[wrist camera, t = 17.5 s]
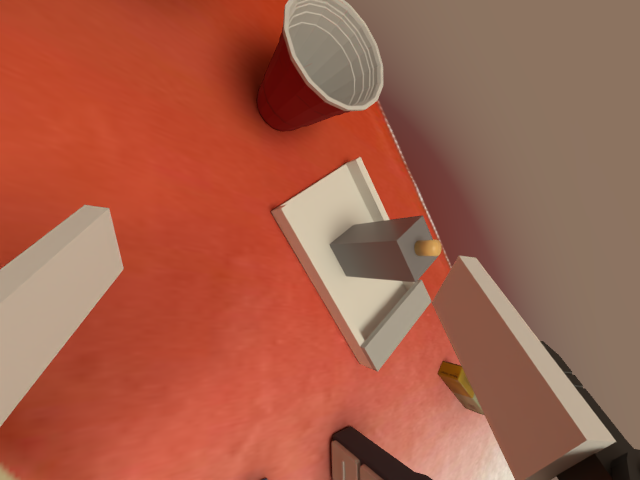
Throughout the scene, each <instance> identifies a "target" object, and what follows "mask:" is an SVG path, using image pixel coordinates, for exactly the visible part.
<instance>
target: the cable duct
mask: <svg viewBox="0 0 640 480" xmlns="http://www.w3.org/2000/svg"><path fill="white" fill-rule="evenodd" d="M271 213H272V215H273V217H274V218H275V220H276V222H277V223H278V225H279V227H280V229H281V230H282V232H283V234H284V235H285V237H286V239H287V240H288V242H289V244H290V246H291V247H292V249H293V251H294V252H295V254H296V256H297V258H298V259H299V261H300V263H301V264H302V266H303V268H304V270H305V271H306V273H307V275H308V276H309V278H310V280H311V281H312V283H313V285H314V287H315V288H316V290H317V292H318V293H319V295H320V297H321V299H322V300H323V302H324V304H325V305H326V307H327V309H328V310H329V312H330V314H331V316H332V317H333V319H334V321H335V322H336V324H337V326H338V328H339V329H340V331H341V333H342V334H343V336H344V338H345V339H346V341H347V343H348V345H349V346H350V348H351V350H352V351H353V353H354V355H355V357H356V358H357V360H358V362H359V363H360V364H362V365H364V366H366V367H369V368H371V369H373V370H375V371H379V369H380V368H381V367H382V365H383V364H384V363H385V361H386V360H387V359H388V358H389V356H390V355H391V354H392V352H393V351H394V350H395V348H396V347H397V346H398V344H399V343H400V342H401V341H402V339H403V338H404V337H405V335H406V334H407V333H408V331H409V330H410V329H411V327H412V326H413V325H414V323H415V322H416V321H417V320H418V318H419V317H420V316H421V314H422V313H423V312H424V310H425V309H426V308H427V306H428V305H429V304H430V303H431V299H430V297H429V295H428V293H427V290H426V288H425V286H424V284H423V282H422V280H417V281H416V282H406V281H394V280H383V279H371V278H360V277H348V276H346V275H345V273H344V271H343V269H342V268H341V266H340V264H339V262H338V260H337V258H336V256H335V255H334V253H333V251H332V249H331V247H330V245H329V244H330V243H332V242H333V241H334V240H335V239H337V238H338V237H339V236H340V235H341V234H343V233H344V232H345V231H346V230H348V229H349V228H350V227H351V226H353V225H355V224H363V223H370V222H378V221H385V220H389V218H388V215H387V213H386V211H385V209H384V207H383V205H382V202H381V200H380V198H379V196H378V194H377V192H376V190H375V187H374V185H373V183H372V181H371V179H370V177H369V174H368V172H367V170H366V168H365V166H364V164H363V161H362V159H361V157H359V158H357V159H354V160H352V161H349V162H347V163H345V164H344V165H342V166H341V167H339V168H338V169H336V170H335V171H333V172H331V173H330V174H328V175H327V176H325V177H324V178H322V179H320V180H319V181H317V182H316V183H314V184H313V185H311V186H310V187H308V188H306V189H305V190H303V191H302V192H300V193H299V194H297V195H295V196H294V197H292V198H291V199H289V200H288V201H286V202H284V203H283V204H281V205H280V206H278V207H277V208H275V209H274V210H272V211H271Z"/></svg>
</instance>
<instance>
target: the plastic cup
mask: <svg viewBox="0 0 640 480" xmlns="http://www.w3.org/2000/svg"><path fill="white" fill-rule="evenodd" d="M382 87H383V64H382V61H381V57H380V54H379V50H378V47H377V44H376V42H375V40H374V38H373V36H372V34H371V33H370V31H369V29H368V27H367V25H366V23H365V22H364V21H363V20H362V19H361V17H360V16H359V15H358V14H357V13H356V11H355V10H354V9H353V8H352V7H351V5H350V4H348V3H347V2H346V1H344V0H289V1H288V2H287V4H286V5H285V10H284V24H283V29H282V33H281V36H280V40H279V43H278V45H277V48H276V50H275V52H274V55H273V57H272V59H271V61H270V64H269V66H268V68H267V71H266V73H265V75H264V80H263V82H262V84H261V86H260V88H259V90H258V97H257V105H258V109H259V113H260V114H261V116H262V117H263V119H264V120H265V122H266V123H267V124H269V125H270V126H271V127H272V128H274V129H277V130H280V131H291V130H295V129H298V128H300V127H304V126H309V125H311V124H314V123H317V122H319V121H322V120H325V119H327V118H330V117H333V116H335V115H341V114H343V113H345V112H350V111H362V110H365V109H367V108H368V107H369V106H371V105H372V104H373V103H375V102H376V101H377V100H378V97H379V95H380V92H381V90H382Z"/></svg>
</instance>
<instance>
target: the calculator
mask: <svg viewBox="0 0 640 480" xmlns="http://www.w3.org/2000/svg"><path fill="white" fill-rule="evenodd" d="M331 448H332V478H333V480H432V479H431V478H429V477H428V476H427V475H424V474H420V473H416V472H414V471H412V470H411V469H409V468H408V467H407V466H405V465H404V464H403V463H401V462H400V461H398V460H397V459H396V458H394V457H393V456H391V455H390V454H389V453H387V452H386V451H385V450H383V449H382V448H380V447H379V446H378V445H376V444H375V443H373V442H372V441H371V440H369V439H368V438H367V437H365V436H364V435H362V434H361V433H360V432H358V431H357V430H355V429H354V428H353V427H351V426H350V427H348V428H346V429H344V430H341V431H339V432H337V433H335V434H333V441H332V443H331Z"/></svg>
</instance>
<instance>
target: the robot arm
mask: <svg viewBox="0 0 640 480" xmlns="http://www.w3.org/2000/svg"><path fill="white" fill-rule="evenodd" d="M123 269H124V268H123V264H122V260H121V256H120V251H119V247H118V243H117V239H116V235H115V231H114V227H113V222H112V218H111V214H110V210H109V208H104V207H96V206H89V205H84V206H83V207H81V208H80V209H79V210H77V211H76V212H75V213H74V214H72V215H71V216H70V217H68V218H67V219H66V220H64V221H63V222H62V223H60V224H59V225H58V226H57V227H55V228H54V229H53V230H51V231H50V232H49V233H47V234H46V235H45V236H43V237H42V238H41V239H40V240H38V241H37V242H36V243H34V244H33V245H32V246H30V247H29V248H28V249H26V250H25V251H24V252H23V253H21V254H20V255H19V256H17V257H16V258H15V259H13V260H12V261H11V262H9V263H8V264H7V265H6V266H4V267H3V268H2V269H0V426H1V425H2V424H3V423H4V421H5V420H6V419H7V417H8V416H9V415H10V414H11V412H12V411H13V410H14V409H15V407H16V406H17V405H18V403H19V402H20V401H21V400H22V398H23V397H24V396H25V394H26V393H27V392H28V391H29V389H30V388H31V387H32V386H33V384H34V383H35V382H36V380H37V379H38V378H39V377H40V375H41V374H42V373H43V371H44V370H45V369H46V368H47V366H48V365H49V364H50V363H51V361H52V360H53V359H54V357H55V356H56V355H57V354H58V352H59V351H60V350H61V348H62V347H63V346H64V345H65V343H66V342H67V341H68V339H69V338H70V337H71V336H72V334H73V333H74V332H75V331H76V329H77V328H78V327H79V325H80V324H81V323H82V322H83V320H84V319H85V318H86V316H87V315H88V314H89V313H90V311H91V310H92V309H93V308H94V306H95V305H96V304H97V302H98V301H99V300H100V299H101V297H102V296H103V295H104V293H105V292H106V291H107V290H108V288H109V287H110V286H111V285H112V283H113V282H114V281H115V279H116V278H117V277H118V276H119V274H120V273H121V272H122V270H123ZM432 304H433V306H434V308H435V311H436V313H437V315H438V317H439V319H440V321H441V323H442V325H443V328H444V330H445V332H446V334H447V336H448V338H449V340H450V342H451V345H452V347H453V349H454V351H455V353H456V355H457V357H458V359H459V362H460V364H461V366H462V368H463V370H464V372H465V374H466V376H467V378H468V381H469V383H470V385H471V387H472V389H473V391H474V393H475V395H476V398H477V400H478V402H479V404H480V406H481V408H482V410H483V412H484V415H485V417H486V419H487V421H488V423H489V425H490V427H491V429H492V431H493V434H494V436H495V438H496V440H497V442H498V444H499V446H500V448H501V451H502V453H503V455H504V457H505V459H506V461H507V463H508V465H509V468H510V470H511V472H512V474H513V476H514V478H515V480H551V479H552V478H554V477H556V476H557V478H558V479H559V480H640V450H637V449H634V448H633V447H632V446H631V445H630V444H629V443H628V442H627V440H626V439H625V438H624V437H623V435H622V434H621V433H620V432H619V431H618V429H617V428H616V427H615V425H614V424H613V423H612V422H611V420H610V419H609V418H608V417H607V415H606V414H605V413H604V412H603V410H602V409H601V408H600V406H599V405H598V404H597V403H596V402H595V400H594V399H593V398H592V396H591V395H590V394H589V393H588V391H587V390H586V389H583V387H582V386H583V385H582V384H581V383H580V381H579V380H578V379H577V377H576V376H575V375H572V371H571V370H570V369H569V367H568V366H567V365H566V364H565V362H564V361H563V360H562V358H561V357H560V356H559V355H558V354H557V353H556V352H554V351H553V350H552V349H551V348H550V347H549V346H548V345H546V344H545V343H544V342H543V341H539V340H538V338H537V337H536V336H535V335H534V333H533V332H532V331H531V329H530V328H529V327H528V325H527V324H526V323H525V321H524V320H523V319H522V317H521V316H520V315H519V314H518V312H517V311H516V310H515V308H514V307H513V306H512V304H511V303H510V302H509V300H508V299H507V298H506V297H505V295H504V294H503V293H502V291H501V290H500V289H499V287H498V286H497V285H496V284H495V282H494V281H493V280H492V278H491V277H490V276H489V275H488V273H487V272H486V271H485V269H484V268H483V267H482V265H481V264H480V263H479V261H478V260H477V259H476V258H473V257H465V256H458V258H457V260H456V262H455V263H454V265H453V267H452V268H451V270H450V272H449V274H448V275H447V277H446V279H445V281H444V282H443V284H442V286H441V288H440V289H439V291H438V293H437V295H436V296H435V298H434V300H433V302H432Z"/></svg>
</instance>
